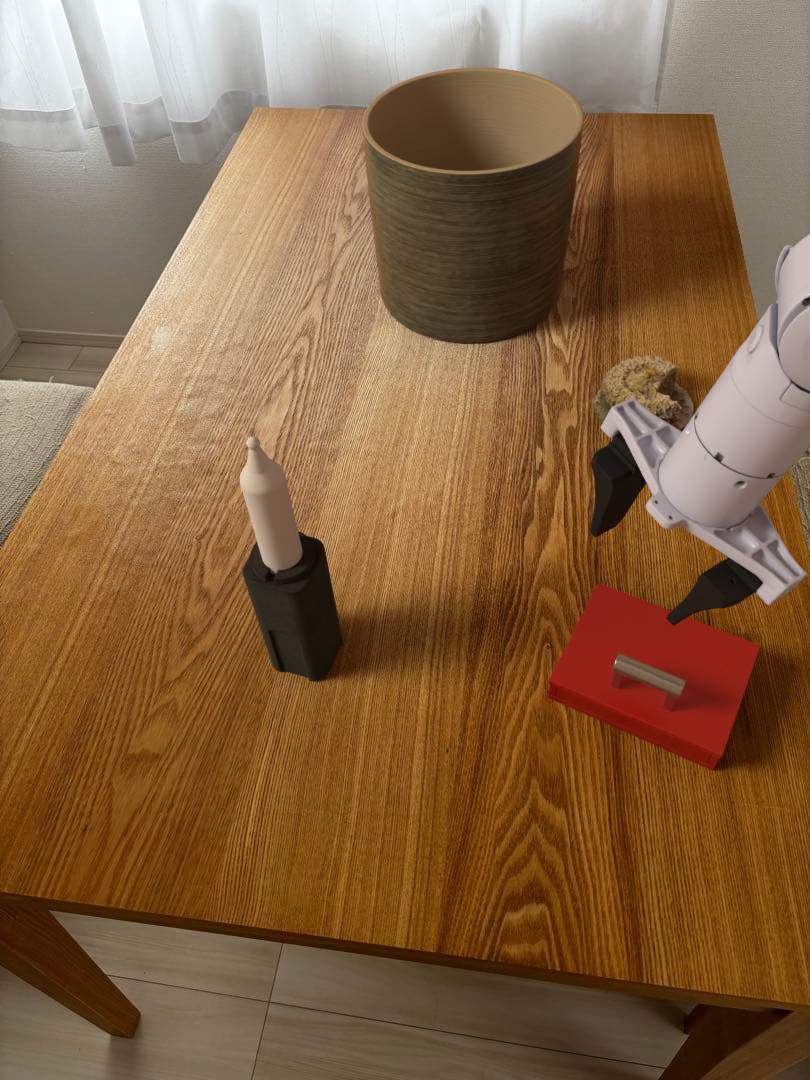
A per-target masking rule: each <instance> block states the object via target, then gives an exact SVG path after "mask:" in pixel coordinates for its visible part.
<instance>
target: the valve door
mask: <svg viewBox="0 0 810 1080" xmlns="http://www.w3.org/2000/svg"><path fill="white" fill-rule="evenodd" d="M592 591H593V592H592V593H591V595H590V597H589V599H588V601H587V603H586V605H585V607H584V609H583V611H582V613H581V615H580V617H579V619H578V621H577V623H576V625H575V627H574V629H573V631H572V633H571V635H570V637H569V639H568V641H567V643H566V645H565V647H564V649H563V651H562V653H561V655H560V657H559V659H558V661H557V663H556V665H555V667H554V669H553V670H552V673H551V675H550V677H549V679H548V684H549V685H550V684H551V685H553V686H555V687H557V688H560V689H562V690H564V691H566V692H569V693H571V694H573V695H576V696H578V697H580V698H582V699H585V700H587V701H589V702H592V703H594V704H596V705H598V706H601V707H603V708H605V709H608V710H610V711H612V712H614V713H617V714H619V715H621V716H624V717H626V718H628V719H630V720H633V721H635V722H637V723H640V724H642V725H644V726H646V727H649V728H651V729H653V730H656V731H658V732H660V733H662V734H665V735H667V736H669V737H672V738H674V739H676V740H678V741H681V742H683V743H685V744H688V745H690V746H692V747H694V748H697V749H699V750H701V751H704V752H706V753H708V754H710V755H713V756H715V757H717V758H720V759H719V760H721V759H722V757H723V756H724V753H725V751H726V747H727V744H728V741H729V739H730V736H731V733H732V730H733V727H734V724H735V721H736V719H737V716H738V712H739V710H740V707H741V704H742V701H743V698H744V695H745V692H746V690H747V687H748V684H749V681H750V678H751V675H752V673H753V670H754V666H755V663H756V661H757V658H758V656H759V653H760V649H761V647H762V646H761V645H759V644H758V643H756V642H753V641H749V640H748V639H745V638H742V637H740V636H737V635H734V634H731V633H729V632H727V631H724V630H721V629H719V628H717V627H714V626H711V625H708V624H706V623H704V622H701V621H699V620H696V619H693V618H691V617H687V618H686V619H684V620H683V621H681V622H679V623H678V624H676V625H675V626H673V625H671V623H670V622H669V621H668V620H667V619H666V617H667V616H668V614H669V613H670V612H671V611H672V610H670V609H668V608H665V607H663V606H661V605H657V604H654V603H652V602H649V601H647V600H644V599H641V598H639V597H636V596H634V595H631V594H629V593H626V592H623V591H622V590H618V589H616V588H614V587H611V586H608V585H606V584H603V583H601V582H597V584H596V585H595V587H594V589H593V590H592Z"/></svg>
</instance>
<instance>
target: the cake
mask: <svg viewBox="0 0 810 1080" xmlns="http://www.w3.org/2000/svg"><path fill="white" fill-rule="evenodd" d="M678 371H679V370H678V366H677V365H674V363H673V362H672V361H670V360H665V359H664V357H662V356H659V355H658V356H656V357H655V355H651V354H649V355H648V354H646V355H644V356H639V355H636V356H634V357H633V358H631V357H629V358H628V359H625V360H621V361H620V362H619V363H618V364H615V365H614V366H613V367H612V368H611V369H610V370H608V371H607V372H606V374H605V377H603V381H602V383H601V387H600V389H599V390H598V391H597V393H596V394H595V395H594V400H593V406H592V407H593V409H594V413H595V415H596V418H597V420H599V422H600V423H601V425H602V424H603V422H604V420H605V418H606V416H607V415H608V413H609V411H610V409H611V408H612V407H613V406H615V405H618V404H620V403H622V402H624V401H626V400H629V399H631V398H635V399H636V400H637V401H638V402H639V403H640V404H641V405H642V406H643V407H645V408H646V409H647V410H649V411H650V412H651V413H653V414H654V415H656V416H657V417H659V418H660V419H662V420H664V421H665V422H667V423H669V424H670V425H672V426H673V427H675V428H677V429H678V430H680V431H681V430H682V429H684V428H685V427H686V425H687V424H688V423H689V421H690V420H691V418H692V417H693V415H694V412H695V409H694V406H695V404H694V402H693V399H692V397H691V396H690V395H689V393H688V392H687V391H686V390H685V389H684V388H683V387H681V386H680V385H679V384H678V383H677V382H678V381H679V378H678V377H677V376H678V374H677V373H678Z"/></svg>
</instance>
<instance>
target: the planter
mask: <svg viewBox="0 0 810 1080" xmlns="http://www.w3.org/2000/svg"><path fill="white" fill-rule="evenodd" d="M584 121H585V115H584V111H583V108H582V106H581V104H580V102H579V101H578V100H577V98H576V97H575V96H574V95H573V94H572V93H571V92H570V91H568V90H567V89H566V88H565V87H563V86H561V85H560V84H558V83H557V82H556V83H555V81H552V80H549V79H548V78H544V77H542V76H540V75H535V74H533V73H528V72H525V71H521V70H520V71H519V70H514V69H506V68H499V67H497V68H496V67H459V68H451V69H444V70H437V71H433V72H429V73H428V72H427V73H424V74H420V75H417V76H414V77H411V78H409V79H405V80H403V81H401V82H398V83H397V84H394V85H392V86H390V87H389V88H387V89H385V90H384V91H383V92H381V93H380V94H378V95H377V96H375V98H373V100H372V101H371V102H370V103H369V105H368V106H367V107H366V109H365V112H364V113H363V116H362V120H361V130H362V139H363V140H362V141H363V149H364V150H363V151H364V161H365V168H366V169H365V171H366V182H367V189H368V199H369V208H370V209H369V210H370V217H371V224H372V234H373V241H374V249H375V256H376V265H377V266H376V267H377V274H378V283H379V290H380V296H381V300H382V302H383V305H384V306H385V309H386V310H387V312H388V313H389V314H390V315H391V316H392V317H393V319H395V320H396V321H397V322H398V323H399V324H401V325H402V326H404V327H405V328H406V329H408V330H409V331H412V332H414V333H416V334H419V335H421V336H425V337H427V338H430V339H434V340H437V341H438V340H439V341H443V342H449V343H461V344H477V343H478V344H479V343H488V342H489V343H490V342H494V341H499V340H504V339H507V338H511V337H514V336H516V335H519V334H522V333H524V332H527V331H528V330H530V329H531V328H534V327H535V326H536V325H539V324H540V323H541V322H543V320H545V319H546V318H547V316H549V315H550V314H551V312H552V311H553V310H554V308H555V307H556V306H557V304H558V301H559V299H560V296H561V291H562V287H563V280H564V279H563V278H564V273H565V265H566V264H565V263H566V257H567V251H568V244H569V239H570V238H569V237H570V231H571V224H572V217H573V211H574V203H575V195H576V188H577V180H578V172H579V165H580V157H581V150H582V149H581V148H582V139H583V133H584V132H583V131H584V124H585V122H584Z"/></svg>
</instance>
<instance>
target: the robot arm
mask: <svg viewBox="0 0 810 1080" xmlns="http://www.w3.org/2000/svg"><path fill="white" fill-rule="evenodd" d="M774 286H775V292H776V295H777V299H776V301H775V302H773V303H771V304H770V305H769V306H768V308H767V309H766V310H765V312H764V313H763V314H762V316H761V318H760V319H759V321H758V322H757V323H756V325H755V326H754V328H753V330H752V331H751V332H750V334H749V335H748V337H747V338H746V339H745V340H744V342H742V344H741V345H740V346H739V348H738V349H737V350H736V352H735V353H734V355H733V356H732V358H731V360H730V361H729V362H728V364H727V365H726V367H725V368H724V370H723V371H722V372H721V375H719V377H718V378H717V380H716V382H715V383H714V384H713V386H712V387H711V388H710V390H709V392H708V393H707V395H706V396H705V397H704V399H703V400H702V401H701V403H700V405H699V406H698V408H697V409H696V410H695V411H694V413H693V417H692V418H691V420H690V421H689V423H688V424H687V425H686V427H683V430H682V431H681V430H678V429H677V428H675V427H673V426H672V425H670V424H669V423H667V422H665V421H664V420H662V419H660V418H659V417H657V416H656V415H654V414H653V413H651V412H650V411H649V410H647V409H646V408H645V407H643V406H642V405H641V404H640V403H639V402H638V401H637V400H636V399H635V398H631V399H629V400H626V401H624V402H622V403H620V404H618V405H615V406H613V407H612V408H611V409H610V411H609V413H608V415H607V416H606V418H605V420H604V422H603V424H602V423H601V425H600V427H599V428H600V429H601V430H602V432H604V434H605V435H606V436H607V437H608V438H610V439H612V440H611V441H609V442H608V443H607V445H605V446H603V447H602V448H599V449H598V450H596V451H595V453H594V454H593V457H592V458H591V460H590V466H591V470H592V474H593V478H594V488H595V489H594V490H595V493H594V508H593V513H592V518H591V524H590V526H589V533H590V534H591V535H592V536H593V537H594V538H595V539H596V538H598V537H600V536H601V535H603V534H605V533H607V532H610V531H611V530H612V529H614V528H617V526H618V525H619V524H620V522H622V520H623V519H624V518H625V517H626V515H627V513H628V512H629V510H630V509H631V508H632V506H633V504H634V502H635V501H636V499H637V497H638V496H639V495H640V493H641V491H643V489H644V488H645V487H646V486H647V487H648V489H649V491H650V492H651V494H652V496H651V497H650V498H649V499H648V501H647V502H646V504H645V509H646V512H647V513H648V514H649V515H651V517H652V518H653V519H654V520H655V521H656V523H658V524H659V525H660V527H662V528H663V529H665V530H667V531H670V530H674V529H676V528H678V527H679V528H682V529H684V531H686V532H688V533H690V534H691V535H693V536H694V537H696V538H698V539H699V540H701V541H702V542H704V543H705V544H707V545H708V546H710V547H711V548H713V549H715V550H717V551H718V552H719V553H721V554H723V555H724V556H726V558H725V559H723V560H721V561H719V562H718V563H717V564H715V565H713V566H711V567H710V568H708V569H707V570H705V571H703V572H702V573H701V574H700V575H699V576H698V577H697V580H696V582H695V583H694V585H693V587H692V588H691V590H690V591H689V592H688V594H687V595H686V596H685V598H684V599H683V600H682V601H681V602H679V604H677V605H676V606H675V607H674V608H673V609H672V610H670V611H671V612H670V613H669V614H668V616H667V617H666V619H667V620H668V621H669V622H670V623H671V625H673V626H675V625H676V624H678V623H679V622H681V621H683V620H684V619H686V618H687V617H688V618H690V616H692V615H694V614H697V613H700V612H704V611H707V610H716V609H717V610H718V609H721V610H722V609H723V610H725V609H728V608H731V607H733V606H737V605H738V604H740V603H742V602H743V601H745V600H746V599H748V598H749V597H752V595H754V594H755V593H756V594H757V596H758V597H759V598H760V599H761V600H762V602H764V603H765V605H767V606H771V605H773V604H775V603H776V602H777V601H778V600H781V598H783V597H785V595H788V594H789V593H790V592H791V591H792V590H793V589H794V588H795V587H796V586H798V585H799V584H800V583H801V582H802V581H803V580H804V579H805V578H806V577H808V573H807V572H806V570H804V569H803V567H802V566H801V565H800V564H799V563H798V562H797V560H796V559H795V558H794V557H793V555H792V554H791V552H790V550H789V549H788V548H787V546H786V544H785V542H784V541H783V539H782V537H781V536H780V533H779V532H778V530H777V528H776V526H775V525H774V523H773V521H772V520H771V518H770V517H769V515H768V513H767V512H766V509H765V508H764V506H763V504H762V503H761V502H762V501H763V500H764V499H765V497H767V495H769V493H770V492H771V491H772V490H773V489H774V488H775V487H776V485H777V484H778V483H779V482H780V481H781V479H782V478H783V477H784V476H785V475H786V474H787V473H788V472H789V470H790V469H791V468H792V467H793V466H794V465H795V464H796V463H797V462H798V460H799V459H800V458H801V457H802V456H803V454H805V452H806V451H807V450H808V449H809V448H810V233H808V234H807V235H806V236H805V237H803V238H802V239H800V241H798V242H797V243H796V244H795V245H791V244H787V245H785V246H784V247H783V249H782V250H781V252H780V254H779V255H778V259H777V261H776V264H775V272H774Z"/></svg>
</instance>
